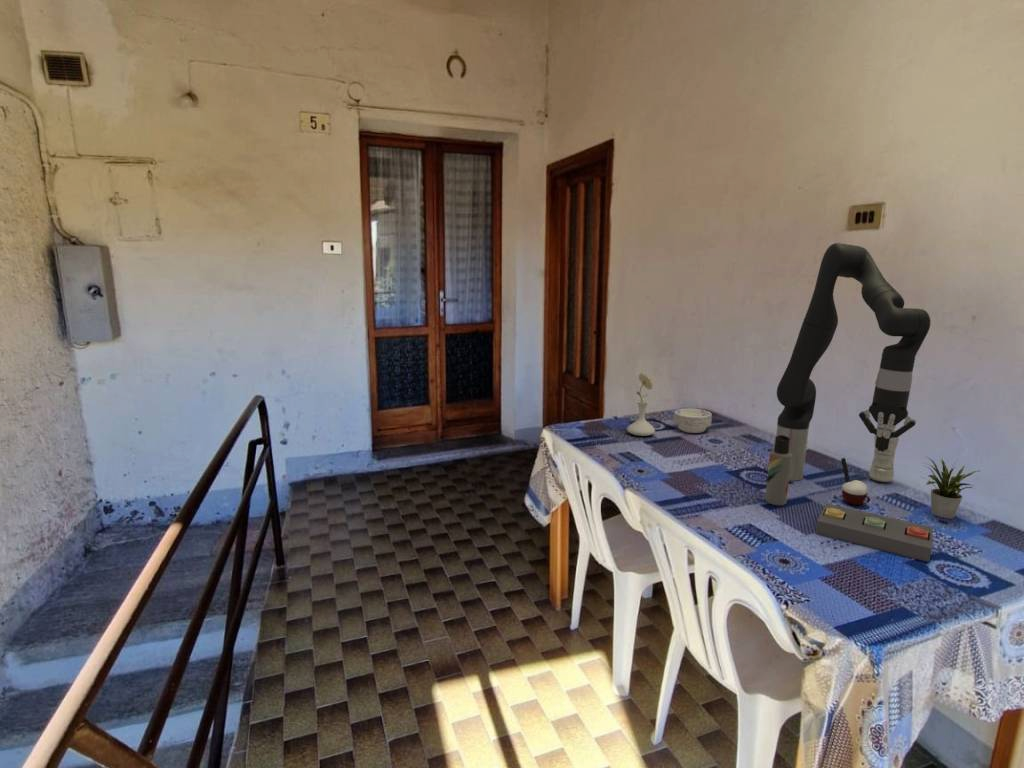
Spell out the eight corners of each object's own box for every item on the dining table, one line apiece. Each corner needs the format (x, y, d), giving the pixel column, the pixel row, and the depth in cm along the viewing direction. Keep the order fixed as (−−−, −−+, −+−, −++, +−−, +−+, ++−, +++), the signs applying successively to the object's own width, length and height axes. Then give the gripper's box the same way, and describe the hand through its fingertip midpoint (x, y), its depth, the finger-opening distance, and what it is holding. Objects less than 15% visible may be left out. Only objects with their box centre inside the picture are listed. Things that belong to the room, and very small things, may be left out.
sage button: (862, 533, 145) (864, 520, 144) (864, 527, 148) (866, 514, 147) (882, 538, 142) (884, 524, 142) (883, 531, 146) (885, 519, 145)
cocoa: (871, 509, 163) (880, 470, 160) (850, 509, 162) (858, 470, 159) (851, 495, 172) (859, 458, 169) (831, 494, 172) (839, 457, 169)
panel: (815, 533, 147) (817, 520, 146) (824, 514, 158) (826, 503, 157) (929, 562, 133) (931, 548, 132) (930, 539, 144) (932, 527, 143)
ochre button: (823, 523, 150) (824, 511, 149) (825, 518, 153) (827, 505, 153) (841, 528, 148) (843, 515, 147) (843, 522, 151) (845, 509, 150)
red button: (905, 543, 140) (907, 530, 139) (906, 537, 143) (908, 524, 142) (925, 548, 137) (928, 535, 136) (926, 542, 140) (928, 528, 140)
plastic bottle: (896, 485, 180) (905, 424, 176) (872, 483, 181) (881, 423, 177) (887, 478, 186) (896, 419, 182) (864, 476, 187) (873, 418, 183)
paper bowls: (667, 425, 245) (668, 408, 244) (701, 424, 247) (702, 407, 245) (681, 436, 231) (682, 417, 229) (717, 435, 232) (718, 416, 231)
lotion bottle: (785, 499, 168) (792, 435, 164) (787, 507, 163) (795, 440, 159) (764, 497, 170) (771, 433, 166) (766, 504, 165) (773, 438, 161)
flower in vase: (658, 438, 227) (661, 377, 222) (629, 438, 227) (632, 377, 222) (650, 429, 240) (654, 371, 235) (623, 428, 240) (626, 371, 235)
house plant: (895, 506, 164) (903, 453, 160) (926, 499, 169) (935, 447, 165) (948, 527, 151) (958, 469, 147) (980, 519, 156) (991, 463, 152)
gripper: (925, 388, 144) (912, 452, 148) (865, 380, 152) (854, 441, 156) (923, 393, 138) (909, 460, 142) (860, 384, 146) (849, 448, 150)
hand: (880, 450), depth 149 cm, fingers closed
